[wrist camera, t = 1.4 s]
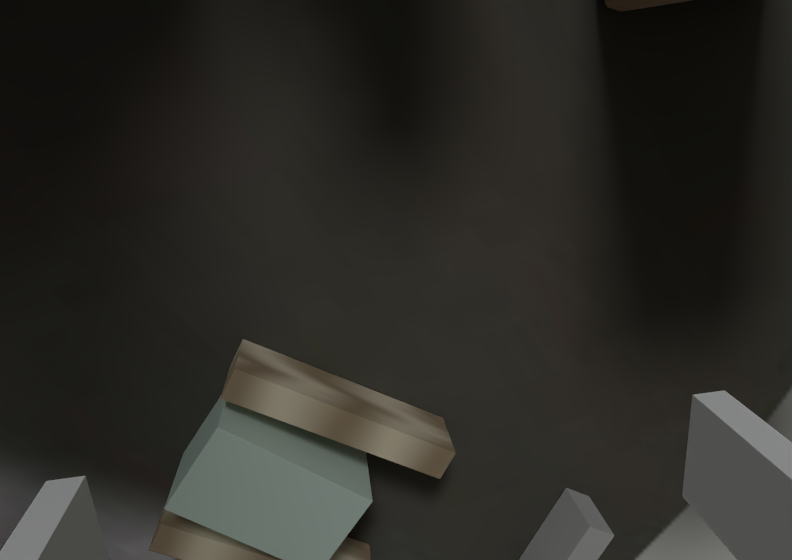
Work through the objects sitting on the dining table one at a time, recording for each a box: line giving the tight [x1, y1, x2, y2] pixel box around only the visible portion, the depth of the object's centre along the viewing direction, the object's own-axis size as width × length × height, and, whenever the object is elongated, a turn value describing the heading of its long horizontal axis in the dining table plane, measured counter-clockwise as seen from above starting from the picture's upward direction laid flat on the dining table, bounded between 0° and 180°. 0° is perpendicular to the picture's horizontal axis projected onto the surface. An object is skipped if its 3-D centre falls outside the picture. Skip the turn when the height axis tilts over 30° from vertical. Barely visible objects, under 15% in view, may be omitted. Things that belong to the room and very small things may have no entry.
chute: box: [149, 339, 456, 560], centre depth 38 cm, size 14×13×4 cm
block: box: [164, 396, 373, 560], centre depth 37 cm, size 10×6×6 cm, turn 56°
